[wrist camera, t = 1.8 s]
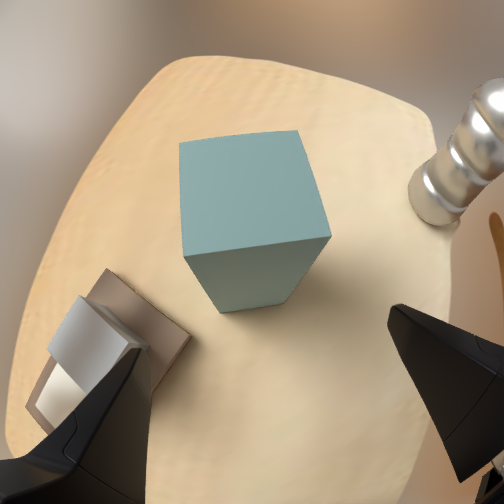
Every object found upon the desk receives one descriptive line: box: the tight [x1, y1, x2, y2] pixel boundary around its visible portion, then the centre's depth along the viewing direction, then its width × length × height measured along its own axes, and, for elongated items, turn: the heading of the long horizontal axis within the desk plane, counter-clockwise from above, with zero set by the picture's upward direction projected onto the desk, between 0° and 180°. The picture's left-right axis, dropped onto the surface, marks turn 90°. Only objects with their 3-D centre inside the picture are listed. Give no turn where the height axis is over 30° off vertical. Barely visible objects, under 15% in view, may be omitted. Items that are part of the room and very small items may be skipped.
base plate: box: [25, 268, 192, 435], centre depth 16 cm, size 9×17×5 cm, turn 147°
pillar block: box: [179, 130, 332, 313], centre depth 16 cm, size 5×5×13 cm
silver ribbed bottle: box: [408, 78, 504, 226], centre depth 16 cm, size 6×7×20 cm
